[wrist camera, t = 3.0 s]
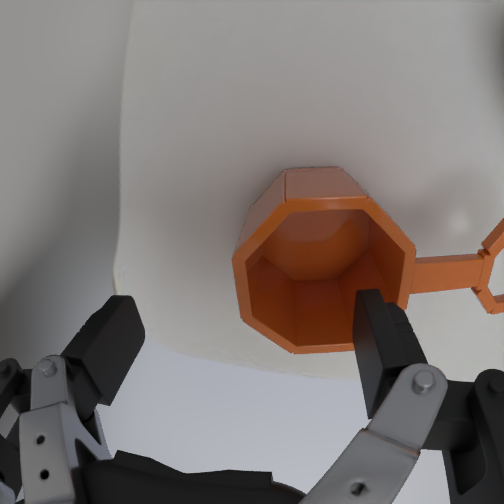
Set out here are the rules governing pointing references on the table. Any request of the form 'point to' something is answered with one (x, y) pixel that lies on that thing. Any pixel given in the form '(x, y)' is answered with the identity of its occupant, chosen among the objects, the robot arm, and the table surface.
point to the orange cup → (336, 261)
